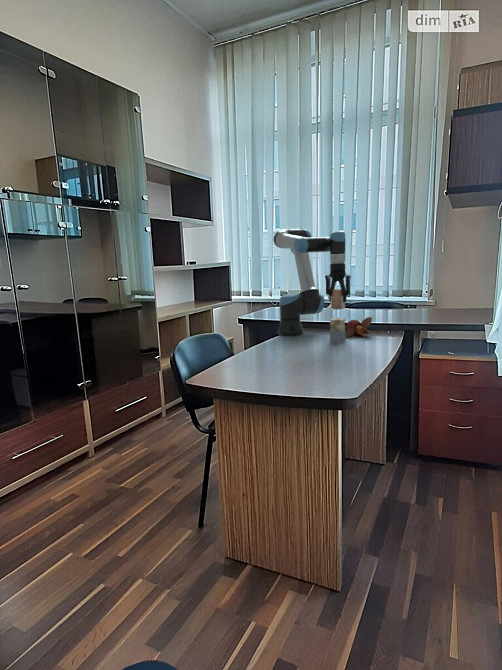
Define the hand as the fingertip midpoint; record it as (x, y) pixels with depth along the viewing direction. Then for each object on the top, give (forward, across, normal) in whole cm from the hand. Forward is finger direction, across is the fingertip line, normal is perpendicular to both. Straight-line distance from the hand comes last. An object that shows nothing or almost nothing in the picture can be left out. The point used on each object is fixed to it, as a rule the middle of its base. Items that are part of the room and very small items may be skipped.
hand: (337, 308), depth 210 cm
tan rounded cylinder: (0, 0, 0) cm, 0 cm away
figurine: (+18, +3, +18) cm, 26 cm away
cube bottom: (+18, 0, 0) cm, 18 cm away
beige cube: (+12, 0, 0) cm, 12 cm away
